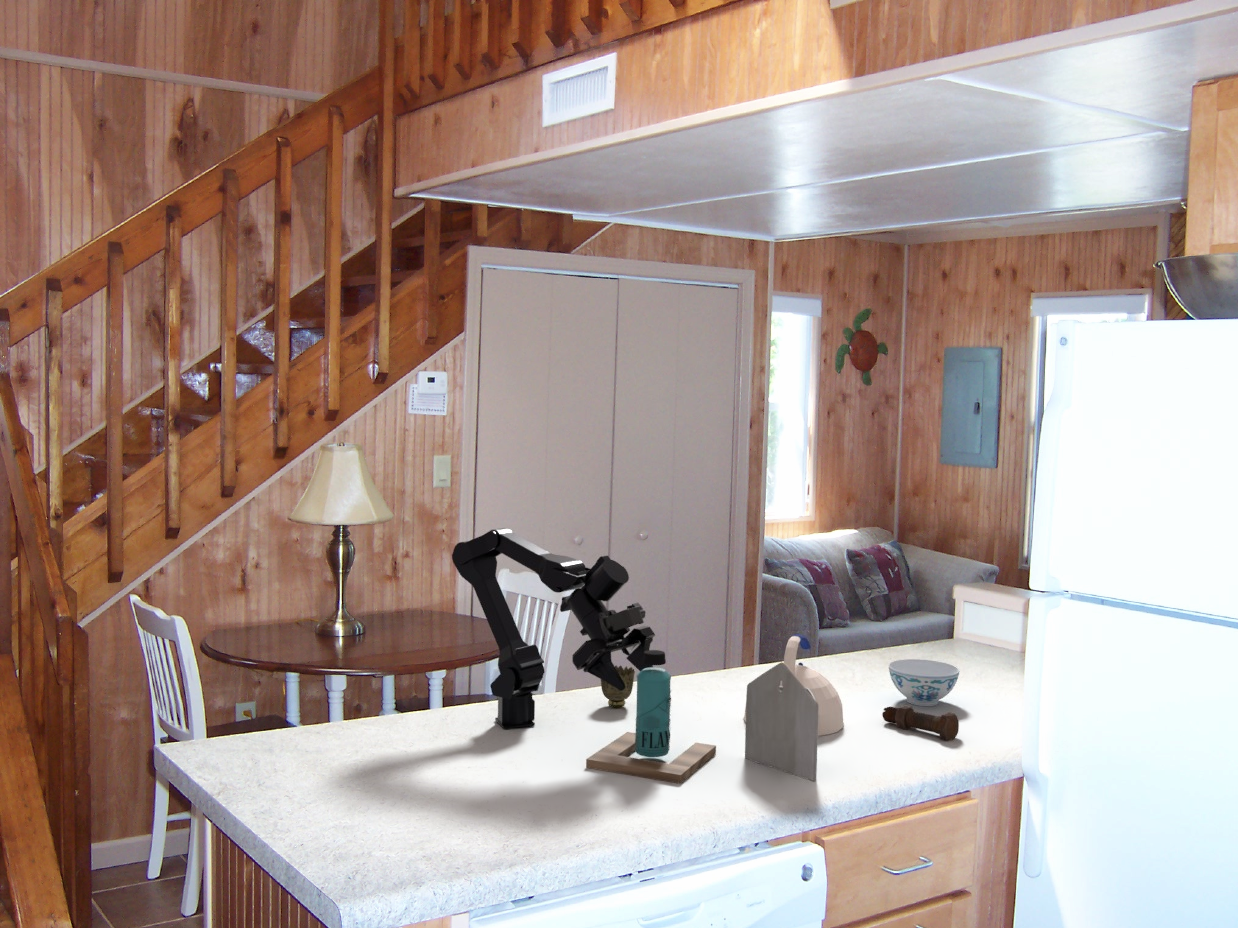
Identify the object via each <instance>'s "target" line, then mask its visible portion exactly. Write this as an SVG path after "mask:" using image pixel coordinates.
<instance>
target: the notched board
mask: <svg viewBox="0 0 1238 928" xmlns="http://www.w3.org/2000/svg"><path fill="white" fill-rule="evenodd" d="M635 733H636V732H630V731H627V732H625V733H623V734H622V735H620V736H619V737H617V738H616V739H615V740H613V741H611V742H609V744H607V745H606V746H604V747H602V748H600V750H598V751H596V752H595V753H593V754H592V755H590V756H588V757H587V758H586V759H585V760H586V761H585V764H586V765H585V768H587V769H593V770H599V771H605V772H610V773H616V774H617V773H618V774H623V775H629V776H635V777H640V778H647V779H653V780H658V781H665V782H670V783H675V784H680V785H681V784H683V782H684V781H685V780H687V778H689V777H691V775H693V774H694V772H696V771H698V769H699V768H701V767H702V766H704V764H705V763H706V762H709V760H710V759H711V758H713V757H714V756H715V755H716V754H717V745H714V744H707V743H700V742H694V743H693V744H692V745H690V747H688V748H687V749H685V750H684V751H683V752H682V753H681V754H678V756H677V757H676V758H674V759H673V760H672V761H670V762H669V763H667V762H661V761H655V760H650V759H649V760H648V759H642V758H637V757H631V756H630V755H631V754H633V753H634V752H636V750H635V748H634V745H635V737H636V734H635Z"/></svg>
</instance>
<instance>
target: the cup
mask: <svg viewBox="0 0 1238 928" xmlns="http://www.w3.org/2000/svg"><path fill="white" fill-rule="evenodd" d="M614 666H615V668H616V670H617V672H618V673H619V675H620V677H621V679H622V680H623V682H624V685H625V687H626V688H625V689H624V690H623V691H620V690H619V689H617V688H615V687H614V686H612V685H610V684H609V683H607V682H605V681H603V680H602V679H600V685H601V691H602V694H603V696H604V697H605V698H606V699H608V701H607V705H608V706H609V707H611V708H615V709H620V708H621V709H622V708H623V707H624V706H626V700H627V699H629V697H630V696H631V695H632V691H633V687H634V681H635V672H636V671H635V669H634V668H633V667H632V666H630V667H629V668H628V666H627V665H626V666H625V667H624V668H623V666H622V665H619V666H618V665H614Z"/></svg>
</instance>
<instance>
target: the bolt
mask: <svg viewBox="0 0 1238 928" xmlns="http://www.w3.org/2000/svg"><path fill="white" fill-rule="evenodd" d="M881 715H882V719H883V721H884V722H886V723H891V724H895V725H896V727H897V728H898V729H900V730H909V729H911V728H913V729H918V730H922V731H925V732H930V733H931V732H932V733H935V734H938V735H939V738H940V740H941V741H944V742H949V741H950V742H951V741H953V740H955V739H956V737H957V736H958V734H959V729H960V728H959V727H960V723H959V717H958V716H957V715H956V713H955V712H951V711H949V712H946V713H943V714H941V716H939V715H934V714H930V713H925V712H919V711H915V709H914V708H913V707H912V706H910V705H902V706H899V707H895V706H892V705H891V706H886V707H884V708H883V711H882V714H881Z"/></svg>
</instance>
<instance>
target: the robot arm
mask: <svg viewBox="0 0 1238 928" xmlns="http://www.w3.org/2000/svg"><path fill="white" fill-rule="evenodd" d="M501 554H502V555H504V556H506V557H507V558H510V559H511V560H512V561H515V562H517V563H518V564H520V565H521V566H524V567H526V568H528V569H529V570H531V571H532V572H533V573H535V574H537V575H538V577H539V579H540V582H541V583H542V584H544V585H545V586H546V587H547V588H548V589H550V591H552V592H553V593H562V592H563V593H564V592H568V591H569V592H570V591H572V592H571V593H570V594H569V595H568V596H567V595H565V596H562V597H561V604H560V607H559V611H560V612H562V613H563V612H568V611H571V612H572V613H573V615H574V616H575V618H576V620H577V621H578V622H579V624H580V626H581V627H582V629H580V630H579V632H580V634H581V635H582V636H584V637H585V636H588V637H589V639H588V640H585V642H584V643H582V644H581V646H579V647H578V649H577V650H576V651H575V652H574V653H573V654H572V655H571V656H572V658H571V659H572V664H573V665H574V667H575V668H576V670H577V671H580V670H582V671H583V673H589V674H591V675H592V676H594V677H596V678H598V679H600V680H601V679H602V680H603V681H605V682H607V683H609V684H610V685H612V686H614V687H615V688H617V689H619V690H620V691H623V690H624V689H625V688H626V687H625V685H624V682H623V680H622V679H621V677H620V675H619V673H618V672H617V670H616V668H615V666H616V665H614V663H613V661H612V653H614V652H618V651H621V652H622V654H625V655H626V660H627V661H628V662H630V663H631V664H632V665H633V666H634V667H635V669H637V670H638V671H639V672H640V671H642V670H643V669H645V668H650V667H654V665H647V664H644V663H643V657H644V652H645V651H648V650H650V648H651V644H652V643H653V642H654V639H653V638H655V637H656V634H655V632H654V631H653V629H652V628H651V626H648V625H642V624H644V623H645V621H644V619H645V618H646V610H645V609H644V608H643V607H642V605H641V604H640V603H639V602H635V603H632V604H630V605H627V606H626V609H623V610H621V611H618V612H617V611H616V610H615V609H610V610H609V609H608V608H607V607H606V605H605V604H604V602H609V601H610V600H612V598H613V597H615V596H616V594H617V593H618V592H619V591H620V590H621V589H622V588H623V587H624V586H625V585H626V584H627V583H628V581H629V580H630V577H629V576H630V574H629V572H628V570H627V569H626V568H625V566H623V565H621V563H619V562H618V561H615V560H614V559H611V558H610V557H609V555H601V556H599V557H598V559H597V560H596V561H595V564H594V565H593V566H592V567H588V566H586V565H585V563H584V562H583V561H582V560H580V559H577V558H573V557H570V556H567V555H560V554H555V553H552V552H550V551H547V550H546V549H544V548H542V547H540V546H538V545H536V544H535V543H533V542H531V541H529V540H528V539H526V538H524V537H523V536H520V535H519V534H516V533H515V532H513V531H512V530H511V529H509V528H507V527H503V528H497V529H496V528H495V529H491V530H489V531H487V532H486V533H484V534H483V535H480V536H477V537H475V538H472V539H470V540H467V541H460V542H458V543H456V544H455V546H454V548H453V551H452V554H451V559H452V563H453V564H454V567H455V568H456V570H457V572H458V573H459V575H460V576H461V577H462V578H463V579H464V580H465V581H467V582H468V583H469V584H470V585H471V587H473V590H474V591H475V594H476V597H477V599H478V601H479V604H480V606H481V609H482V610H483V614H484V617H485V619H486V621H487V623H488V626H489V628H490V630H491V633H492V635H493V638H494V640H495V642H496V645H497V648H498V650H499V653H498V661H497V667H498V670H499V674H498V676H497V677H496V678H494V680H493V681H492V682H491V684H490V690H491V695H492V696H493V697H497V717H495V719H494V720H495V721H496V722H497V724H498V725H499V726H500V727H501V728H503V729H505V730H506V729H507V730H508V729H516V728H527V727H534V726H536V725H535V724H536V723H535V722H534V721H535V716H536V715H535V711H536V709H535V708H536V705H535V704H536V703H535V702H536V701H535V700H534V699H533V692H537V691H539V688H540V685H541V682H542V681H543V678H544V675H545V667H544V664H545V661H544V660H543V658H542V656H541V654H540V651H539V647H538V646H537V645H536V644H535V643H534V644H531V645H529V644H527V643H526V642H525V640H524V639H523V637H522V636H521V633H520V631H519V629H518V627H517V626H518V625H517V623H516V621H515V620H514V617H513V614H512V612H511V609H510V607H509V605H508V603H507V599H506V598H505V596H504V594H503V592H502V588H501V586H500V584H499V581H498V580H497V567H498V560H497V557H498V556H500V555H501ZM636 625H642V626H639V627H634V628H633V629H630V628H631V627H633V626H636ZM625 635H626V636H625Z"/></svg>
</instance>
